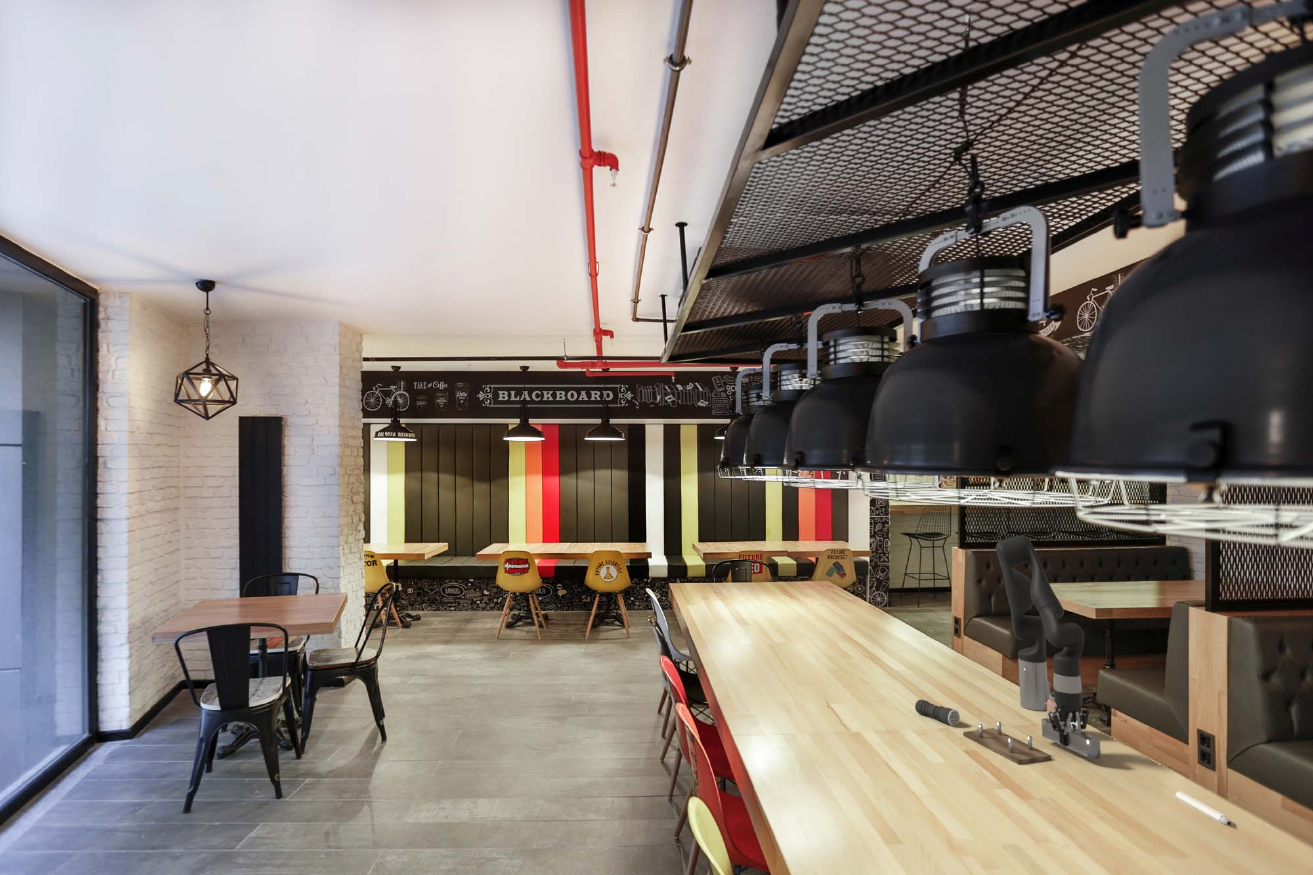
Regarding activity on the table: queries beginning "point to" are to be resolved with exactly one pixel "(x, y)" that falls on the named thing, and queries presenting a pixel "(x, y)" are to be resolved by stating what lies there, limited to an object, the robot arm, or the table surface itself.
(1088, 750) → the grey long metal bar
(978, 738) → the tool rest
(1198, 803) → the marker
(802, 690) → the table surface
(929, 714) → the flashlight
